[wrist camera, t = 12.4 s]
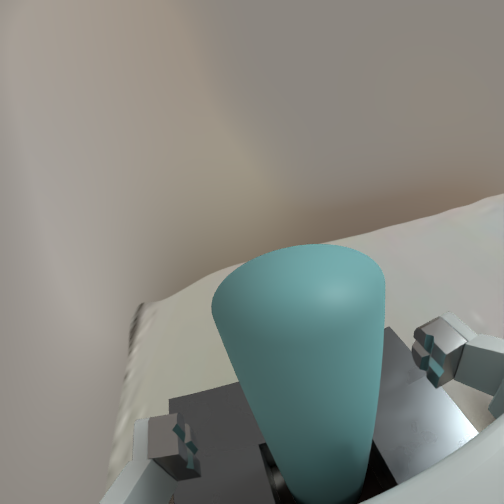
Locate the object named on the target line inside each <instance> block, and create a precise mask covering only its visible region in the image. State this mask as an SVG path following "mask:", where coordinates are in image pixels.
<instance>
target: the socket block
mask: <svg viewBox="0 0 504 504" xmlns="http://www.w3.org/2000/svg"><path fill="white" fill-rule="evenodd" d="M174 413H181V415H182V416H183V417H184V422H185V424H188V425H190V427H191V428H192V429H193V432H194V434H195V436H196V440H197V444H198V451H197V452H196V454H195V456H196V457H197V458H198V459H199V460H200V468H201V476H202V477H199V478H194V479H188V480H182V481H177V482H178V484H177V487H176V489H175V491H174V493H173V494H174V504H281V501H280V498H279V495H278V492H277V488H276V485H275V482H274V478H273V475H272V472H271V468H270V466H273V465H277V464H276V462H275V460H274V458H273V456H272V454H271V452H270V449H269V447H268V445H267V443H266V441H265V439H264V437H263V434H262V432H261V430H260V428H259V426H258V423H257V421H256V419H255V417H254V415H253V412H252V410H251V408H250V406H249V403H248V401H247V399H246V396H245V394H244V392H243V389H242V387H241V385H240V382H236V383H232V384H229V385H225V386H221V387H218V388H214V389H210V390H206V391H202V392H198V393H194V394H190V395H186V396H181V397H177V398H172V399H169V414H174ZM477 434H478V432H477V431H476V430H475V428H474V427H473V426H472V425H471V423H470V422H469V421H468V419H467V418H466V417H465V416H464V414H463V413H462V412H461V411H460V409H459V408H458V407H457V406H456V404H455V403H454V402H453V401H452V399H451V398H450V397H449V396H448V395H447V393H446V392H445V391H444V390H443V388H442V387H441V386H440V387H439V388H437V389H436V388H435V387H434V386H433V385H432V384H431V382H430V381H429V380H428V379H427V378H426V371H424V370H421V369H419V368H418V367H417V365H416V364H415V362H414V360H413V357H412V352H411V351H410V349H409V348H408V347H407V346H406V345H405V344H404V342H403V341H402V340H401V339H400V338H399V337H398V336H397V335H396V333H395V332H394V331H393V330H392V329H391V328H390V327H387V328H385V329H384V340H383V355H382V368H381V378H380V388H379V397H378V405H377V412H376V419H375V426H374V433H373V439H372V444H371V450H370V455H369V461H368V462H369V464H370V466H371V468H372V470H373V472H374V474H375V476H376V477H377V479H378V481H379V483H380V485H381V487H382V489H383V491H384V492H385V491H387V490H389V489H391V488H393V487H395V486H397V485H399V484H401V483H403V482H405V481H407V480H408V479H410V478H412V477H414V476H416V475H417V474H419V473H421V472H423V471H424V470H426V469H428V468H429V467H431V466H432V465H434V464H436V463H437V462H439V461H440V460H442V459H444V458H445V457H447V456H448V455H450V454H451V453H453V452H454V451H455V450H457V449H458V448H460V447H461V446H463V445H464V444H465V443H467V442H468V441H469V440H471V439H472V438H474V437H475V436H476V435H477Z"/></svg>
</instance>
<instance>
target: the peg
mask: <svg viewBox="0 0 504 504" xmlns="http://www.w3.org/2000/svg"><path fill="white" fill-rule="evenodd" d="M211 307H212V315H213V318H214V321H215V324H216V326H217V329H218V331H219V334H220V336H221V339H222V341H223V344H224V346H225V349H226V351H227V354H228V356H229V359H230V361H231V363H232V366H233V368H234V371H235V373H236V375H237V378H238V380H239V382H240V385H241V387H242V389H243V392H244V394H245V396H246V399H247V401H248V403H249V406H250V408H251V410H252V412H253V415H254V417H255V419H256V421H257V423H258V426H259V428H260V430H261V432H262V434H263V437H264V439H265V441H266V443H267V445H268V447H269V449H270V452H271V454H272V456H273V458H274V460H275V462H276V464H277V466H278V468H279V470H280V472H281V474H282V476H283V478H284V480H285V482H286V484H287V486H288V488H289V490H290V492H291V494H292V496H293V498H294V500H295V502H296V504H355V503H356V502H357V501H358V499H359V497H360V495H361V492H362V488H363V484H364V480H365V475H366V470H367V466H368V461H369V455H370V450H371V444H372V439H373V433H374V426H375V419H376V412H377V405H378V397H379V388H380V378H381V368H382V355H383V340H384V319H385V279H384V275H383V273H382V270H381V269H380V267H379V266H378V264H377V263H376V262H375V261H374V260H372V259H371V258H370V257H368V256H367V255H365V254H363V253H361V252H359V251H357V250H354V249H351V248H347V247H343V246H338V245H329V244H308V245H299V246H292V247H288V248H283V249H279V250H276V251H272V252H269V253H267V254H264V255H261V256H259V257H256V258H255V259H252V260H250V261H248V262H247V263H245V264H243V265H242V266H240V267H239V268H237V269H236V270H234V271H233V272H232V273H231V274H230V275H228V276H227V277H226V278H225V279H224V280H223V282H222V283H221V284H220V285H219V287H218V288H217V290H216V292H215V294H214V297H213V300H212V306H211Z"/></svg>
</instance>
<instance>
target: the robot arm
mask: <svg viewBox="0 0 504 504" xmlns="http://www.w3.org/2000/svg"><path fill="white" fill-rule="evenodd" d="M414 338H415V339H416V341H415V342H414V344H413V345H412V357H413V360H414V362H415V364H416V365H417V367H418V368H419V369H421V370H424V371H426V378H427V379H428V380H429V381H430V382H431V384H432V385H433V386H434V387H435V388H436V389H437V388H439V387H440V386H442V385H444V384H446V383H447V382H449V381H451V380H452V379H454V380H456V381H458V382H461V383H463V384H465V385H468V386H470V387H472V388H475V389H477V390H480V391H482V392H484V393H487V394H489V395H492V396H494V397H493V399H492V401H491V403H490V405H489V408H488V410H489V411H490V412H491V414H492V415H493V416H494V417H495V419H496V420H495V421H494V422H492V423H491V424H490V425H489V426H488V427H486V428H485V429H484V430H483V431H481V432H480V433H479V434H477V435H476V436H475V437H474V438H472V439H471V440H469V441H468V442H467V443H465V444H464V445H463V446H461V447H460V448H458V449H457V450H455V451H454V452H453V453H451V454H450V455H448V456H447V457H445V458H444V459H442V460H440V461H439V462H437V463H436V464H434V465H432V466H431V467H429V468H428V469H426V470H424V471H423V472H421V473H419V474H417V475H416V476H414V477H412V478H410V479H408V480H407V481H405V482H403V483H401V484H399V485H397V486H395V487H393V488H391V489H389V490H387V491H385V492H383V493H381V494H379V495H377V496H375V497H373V498H370V499H368V500H366V501H364V502H361V503H359V504H504V339H501V338H497V337H493V336H489V335H485V334H479V335H477V334H476V333H475V332H474V331H473V330H472V329H470V328H469V327H468V326H467V325H466V324H465V323H464V322H463V321H461V320H460V319H459V318H458V317H457V316H456V315H455V314H453V313H452V312H449V311H448V312H446V313H444V314H443V315H441V316H439V317H437V318H435V319H433V320H431V321H429V322H427V323H425V324H424V325H422V326H420V327H418V328H416V330H415V331H414ZM197 451H198V444H197V440H196V436H195V434H194V432H193V429H192V428H191V427H190V425H188V424H185V422H184V417H183V416H182V415H181V413H174V414H169V415H163V416H157V417H150V418H144V419H138V420H136V421H135V424H134V434H133V455H132V461H129V462H128V463H127V464H126V466H125V467H124V469H123V470H122V471H121V473H120V474H119V476H118V477H117V479H116V480H115V481H114V483H113V484H112V486H111V487H110V489H109V490H108V491H107V493H106V494H105V496H104V497H103V499H102V500H101V501H100V503H99V504H168V503H169V501H170V499H171V497H172V495H173V493H174V491H175V489H176V487H177V484H178V482H177V481H182V480H188V479H194V478H199V477H202V476H201V468H200V460H199V459H198V458H197V457H196V456H195V454H196V452H197Z"/></svg>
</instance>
